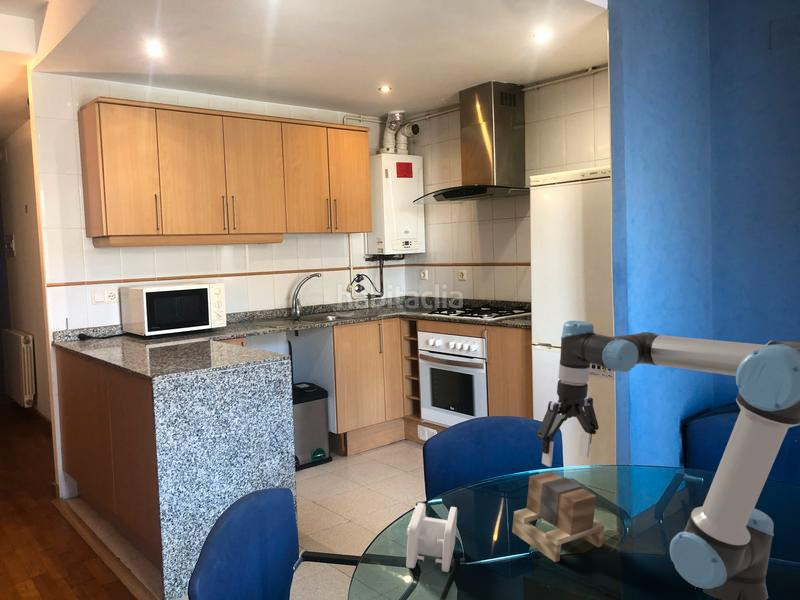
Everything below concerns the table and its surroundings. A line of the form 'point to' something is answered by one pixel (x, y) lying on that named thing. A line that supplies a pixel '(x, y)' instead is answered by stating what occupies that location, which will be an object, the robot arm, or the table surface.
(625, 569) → the table surface
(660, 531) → the table surface
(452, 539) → the cable organizer
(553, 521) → the wooden block with band
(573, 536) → the wooden bar frame
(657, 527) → the table surface
